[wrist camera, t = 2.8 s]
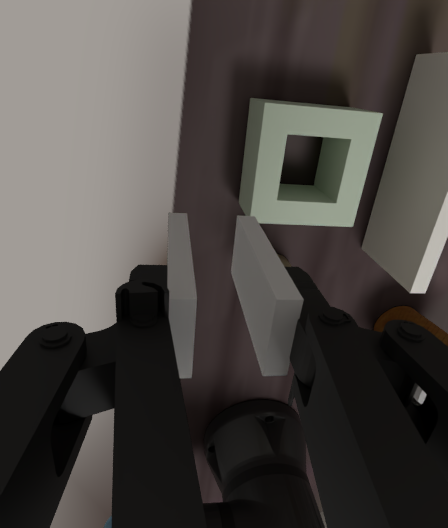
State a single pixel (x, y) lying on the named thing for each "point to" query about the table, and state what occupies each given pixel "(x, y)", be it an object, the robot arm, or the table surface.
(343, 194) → the sage green block
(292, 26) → the table surface
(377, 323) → the disposable coffee cup
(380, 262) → the pale wall board
